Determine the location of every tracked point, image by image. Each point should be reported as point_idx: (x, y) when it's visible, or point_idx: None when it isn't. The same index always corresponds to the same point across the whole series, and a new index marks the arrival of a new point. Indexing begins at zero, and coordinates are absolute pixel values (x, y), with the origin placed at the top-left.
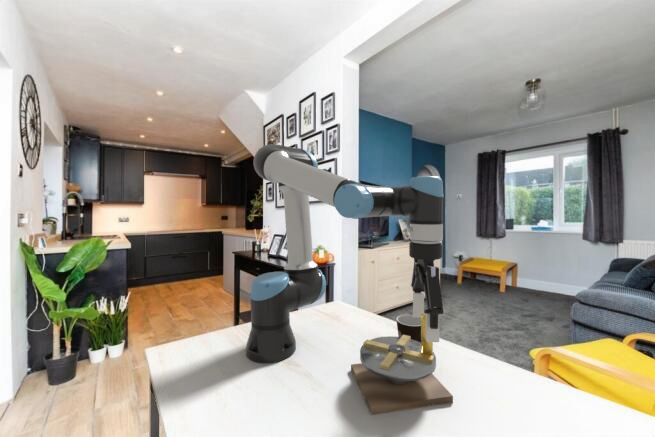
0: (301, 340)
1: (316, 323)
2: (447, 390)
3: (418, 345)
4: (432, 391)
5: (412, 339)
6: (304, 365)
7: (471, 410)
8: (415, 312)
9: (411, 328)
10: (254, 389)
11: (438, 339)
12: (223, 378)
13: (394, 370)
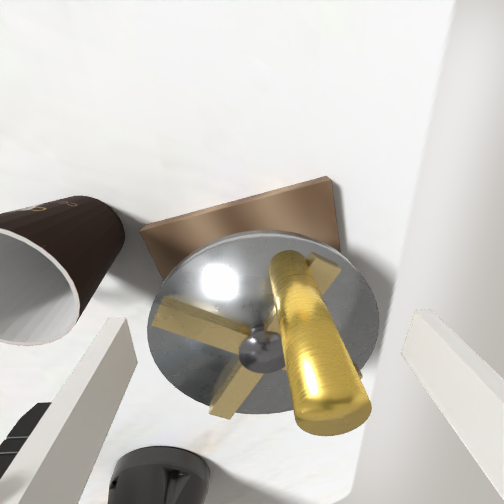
0: (108, 444)
1: (2, 435)
2: (308, 186)
3: (206, 278)
4: (310, 225)
5: (102, 263)
6: (206, 426)
7: (357, 137)
8: (123, 379)
9: (83, 292)
10: (279, 462)
11: (439, 321)
12: (255, 492)
13: (356, 355)
